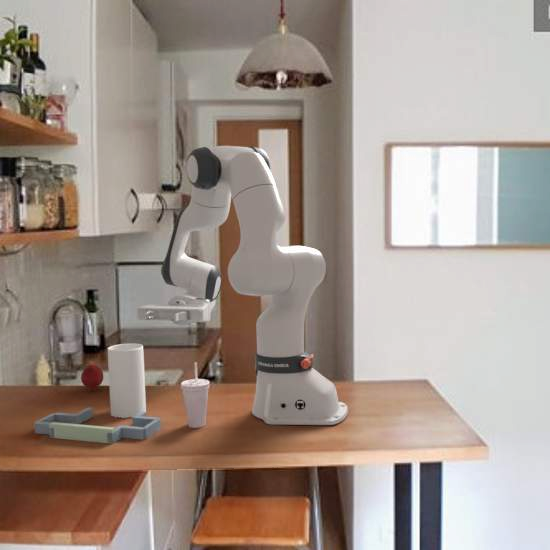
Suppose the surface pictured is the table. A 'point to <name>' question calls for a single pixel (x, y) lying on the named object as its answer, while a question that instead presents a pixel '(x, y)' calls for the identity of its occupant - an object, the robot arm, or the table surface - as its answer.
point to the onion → (92, 376)
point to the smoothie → (195, 400)
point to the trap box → (95, 427)
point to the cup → (126, 380)
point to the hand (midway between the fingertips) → (160, 317)
